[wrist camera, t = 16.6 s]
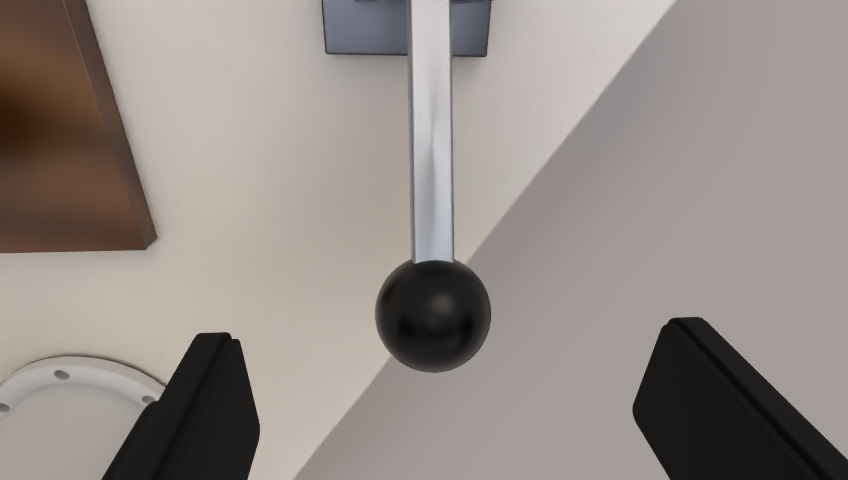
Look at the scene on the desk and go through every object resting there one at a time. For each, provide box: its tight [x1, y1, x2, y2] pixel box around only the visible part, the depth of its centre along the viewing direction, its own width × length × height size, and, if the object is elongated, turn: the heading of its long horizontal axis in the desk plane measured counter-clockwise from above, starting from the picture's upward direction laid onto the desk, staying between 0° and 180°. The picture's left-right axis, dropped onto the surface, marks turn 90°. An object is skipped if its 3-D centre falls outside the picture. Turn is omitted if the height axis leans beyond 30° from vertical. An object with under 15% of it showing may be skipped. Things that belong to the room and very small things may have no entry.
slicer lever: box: [375, 0, 491, 373], centre depth 12 cm, size 14×3×3 cm, turn 179°
